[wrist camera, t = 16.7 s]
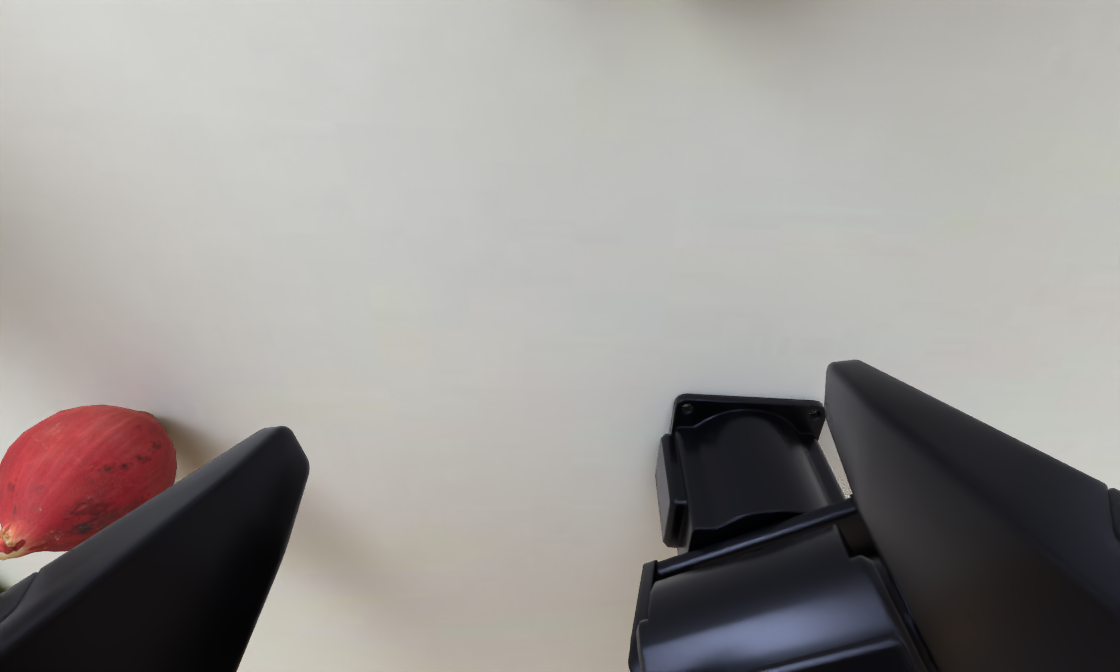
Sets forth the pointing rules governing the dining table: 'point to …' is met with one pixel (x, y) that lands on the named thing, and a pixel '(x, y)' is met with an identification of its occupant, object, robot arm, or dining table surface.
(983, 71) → the dining table surface
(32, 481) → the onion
